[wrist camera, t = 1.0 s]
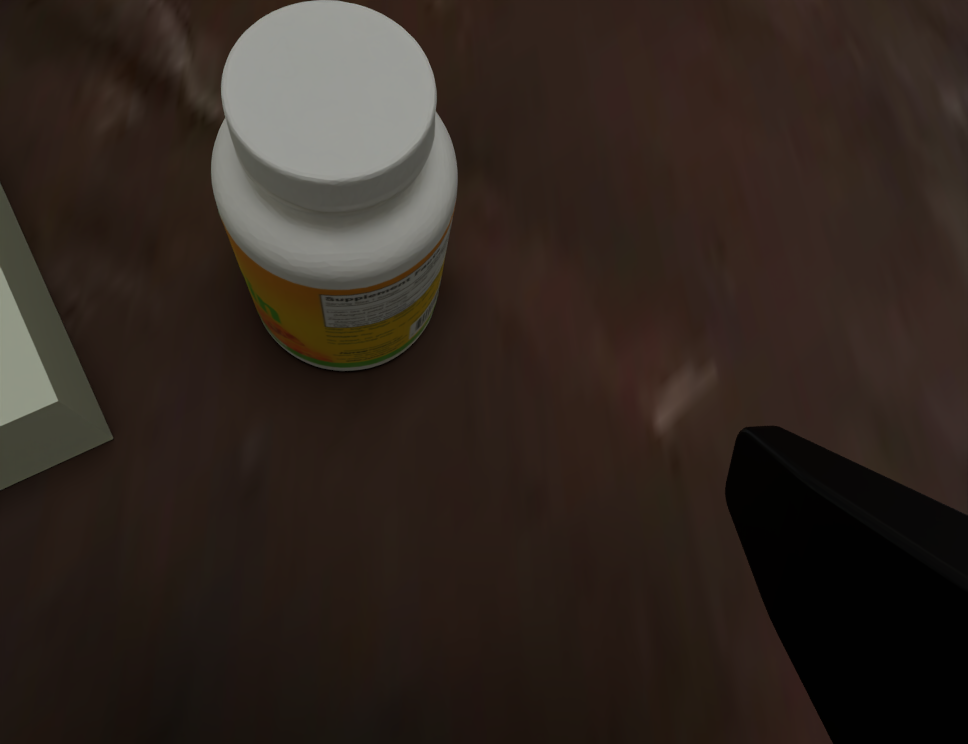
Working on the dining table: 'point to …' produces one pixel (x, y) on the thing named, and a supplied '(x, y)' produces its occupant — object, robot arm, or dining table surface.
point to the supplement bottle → (335, 181)
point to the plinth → (37, 370)
